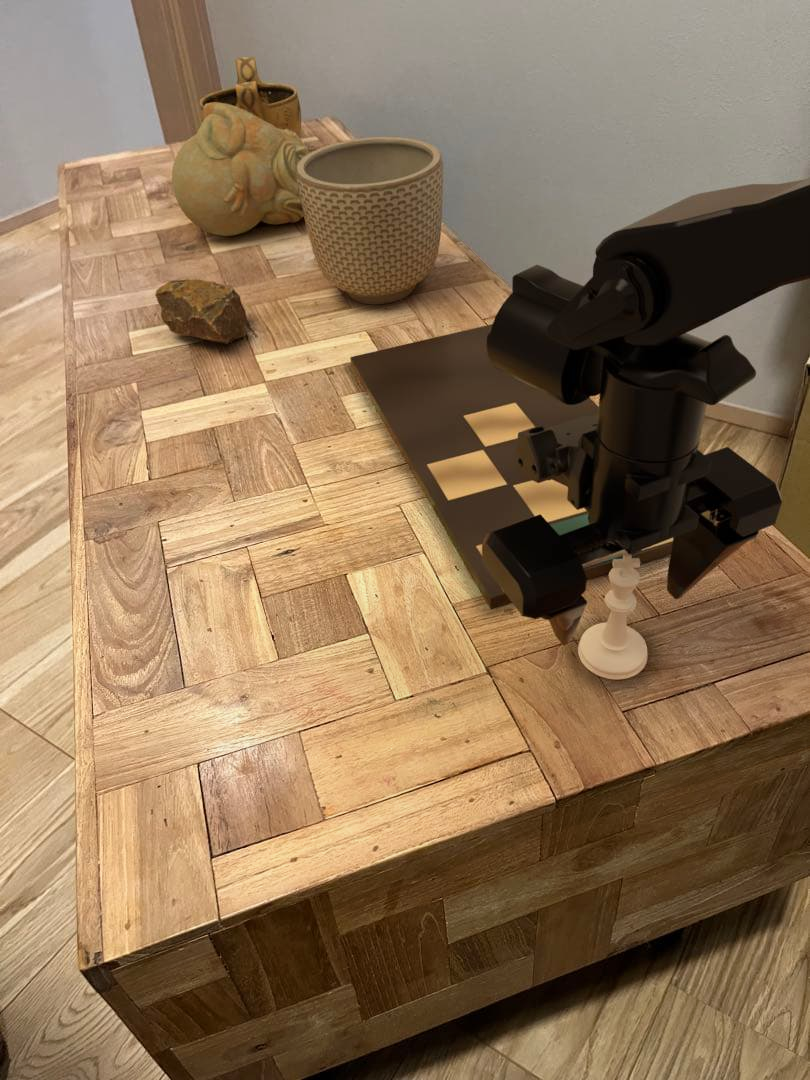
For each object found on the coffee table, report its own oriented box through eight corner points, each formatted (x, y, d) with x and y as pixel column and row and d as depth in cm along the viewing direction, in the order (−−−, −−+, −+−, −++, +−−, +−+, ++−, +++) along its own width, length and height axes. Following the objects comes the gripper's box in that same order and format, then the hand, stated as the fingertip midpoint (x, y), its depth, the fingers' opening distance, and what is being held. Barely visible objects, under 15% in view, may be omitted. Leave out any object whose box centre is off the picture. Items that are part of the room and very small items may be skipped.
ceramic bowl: (311, 177, 139) (297, 78, 129) (211, 190, 138) (188, 91, 128) (304, 138, 156) (290, 47, 146) (214, 149, 155) (194, 58, 145)
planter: (400, 333, 97) (388, 196, 87) (287, 304, 105) (263, 175, 94) (472, 274, 108) (469, 145, 97) (364, 252, 115) (351, 129, 104)
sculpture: (244, 274, 115) (351, 184, 117) (142, 146, 107) (258, 51, 109) (227, 278, 131) (321, 199, 133) (137, 167, 123) (239, 84, 125)
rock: (175, 372, 94) (260, 353, 96) (160, 322, 90) (250, 303, 92) (163, 323, 104) (241, 306, 106) (150, 275, 100) (231, 259, 102)
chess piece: (653, 678, 58) (674, 579, 51) (583, 681, 58) (595, 582, 52) (639, 626, 62) (658, 526, 55) (573, 628, 62) (583, 530, 55)
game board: (714, 541, 68) (717, 529, 67) (490, 609, 64) (490, 597, 63) (514, 328, 96) (514, 317, 96) (351, 366, 93) (349, 356, 92)
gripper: (690, 331, 55) (658, 509, 65) (438, 410, 50) (447, 588, 61) (816, 413, 47) (757, 600, 58) (532, 515, 42) (524, 699, 53)
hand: (618, 617), depth 57 cm, fingers open, 9 cm apart
